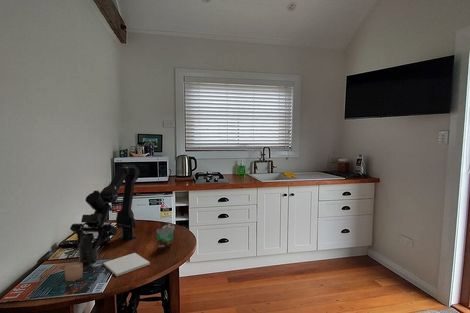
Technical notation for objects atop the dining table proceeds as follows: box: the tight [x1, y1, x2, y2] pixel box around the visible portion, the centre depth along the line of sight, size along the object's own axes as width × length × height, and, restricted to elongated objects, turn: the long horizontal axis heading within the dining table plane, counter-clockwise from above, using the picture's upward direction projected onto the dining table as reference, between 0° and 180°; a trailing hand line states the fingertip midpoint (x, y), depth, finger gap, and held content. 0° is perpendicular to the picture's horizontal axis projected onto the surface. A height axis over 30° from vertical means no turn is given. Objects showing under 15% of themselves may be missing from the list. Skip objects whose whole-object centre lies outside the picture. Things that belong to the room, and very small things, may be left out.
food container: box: [156, 221, 175, 249], centre depth 137 cm, size 12×6×10 cm, turn 168°
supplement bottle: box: [78, 232, 99, 267], centre depth 114 cm, size 7×7×12 cm
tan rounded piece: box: [64, 261, 84, 282], centre depth 105 cm, size 6×6×5 cm
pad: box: [103, 252, 151, 277], centre depth 116 cm, size 14×14×1 cm
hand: (85, 248), depth 112 cm, fingers closed on supplement bottle, 7 cm apart
